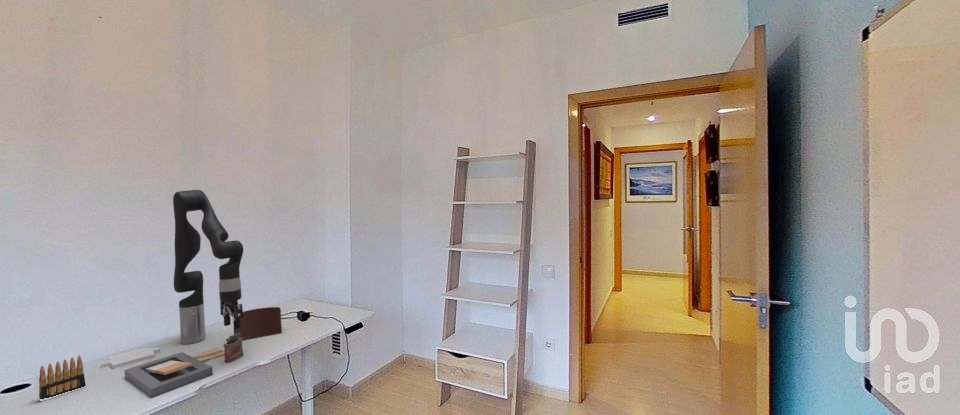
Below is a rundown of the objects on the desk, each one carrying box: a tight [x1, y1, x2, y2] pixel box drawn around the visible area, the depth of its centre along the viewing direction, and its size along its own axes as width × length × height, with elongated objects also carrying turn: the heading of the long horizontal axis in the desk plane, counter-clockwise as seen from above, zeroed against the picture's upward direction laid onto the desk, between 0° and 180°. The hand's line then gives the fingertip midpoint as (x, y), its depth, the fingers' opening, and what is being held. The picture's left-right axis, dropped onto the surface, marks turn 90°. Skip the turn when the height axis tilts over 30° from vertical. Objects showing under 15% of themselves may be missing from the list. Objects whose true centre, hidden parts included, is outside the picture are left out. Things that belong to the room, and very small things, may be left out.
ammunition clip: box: [38, 355, 87, 399], centre depth 127 cm, size 11×2×12 cm, turn 153°
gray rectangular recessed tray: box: [123, 351, 214, 398], centre depth 138 cm, size 28×18×3 cm, turn 58°
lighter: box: [223, 333, 244, 364], centre depth 152 cm, size 8×3×10 cm, turn 168°
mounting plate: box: [100, 346, 161, 370], centre depth 154 cm, size 18×13×2 cm
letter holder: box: [232, 306, 283, 341], centre depth 179 cm, size 10×20×14 cm, turn 121°
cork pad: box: [190, 347, 225, 363], centre depth 155 cm, size 10×10×1 cm
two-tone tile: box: [146, 360, 192, 375], centre depth 138 cm, size 20×8×1 cm, turn 58°
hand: (232, 327), depth 151 cm, fingers open, 8 cm apart
